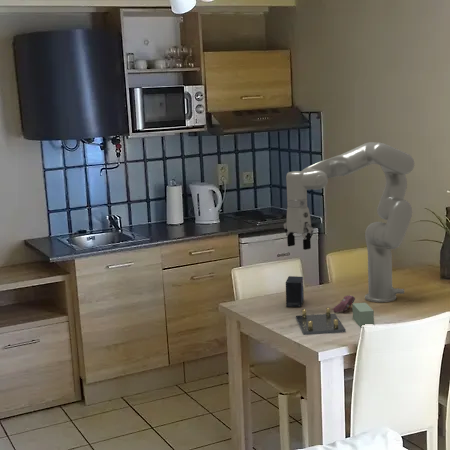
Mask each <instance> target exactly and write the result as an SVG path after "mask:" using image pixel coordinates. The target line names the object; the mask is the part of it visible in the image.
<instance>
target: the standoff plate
mask: <svg viewBox="0 0 450 450" xmlns="http://www.w3.org/2000/svg"><path fill="white" fill-rule="evenodd" d="M295 320H296V322H297V325H298V326H299V328H300V330H301V333H302V335H303V336H304V335H305V336H306V335H321V334H336V333H337V334H339V333H346V327H345V326H344V325H343V324H342V322H341V320H340V319H339V318H338V316H337V314H336V312H334V313H331V307H327V306H326V307H325V313H322V314H319V313H318V314H307V308H302V309H301V315H295Z"/></svg>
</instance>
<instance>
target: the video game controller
mask: <svg viewBox="0 0 450 450" xmlns="http://www.w3.org/2000/svg"><path fill="white" fill-rule="evenodd" d="M355 300H356V297H355V296H353V295H350V294H349V295H345V296H344V297H343V299H342V300H341V301H340V302H339V303H338V304H337V305H335V306H334V307H333V312H334V313H340V312H342V311H343V312H346V311H347V310H349V309H350V308H351V306H353V305H352V304H353V303H355V302H354V301H355Z"/></svg>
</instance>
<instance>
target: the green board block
mask: <svg viewBox="0 0 450 450" xmlns="http://www.w3.org/2000/svg"><path fill="white" fill-rule="evenodd" d="M351 306H352V320H353V321H354V322H355V323H356V324H357V325H358V327H359V328H362V327H361V326H362V325H365V324H374V325H375V321H374V320H375V317H374V313H375V312H374V310H373V308H372V307H371V306H369V305H368V303H367V302H357V303H355V302H353V303H352V305H351Z"/></svg>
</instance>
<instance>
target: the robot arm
mask: <svg viewBox="0 0 450 450" xmlns="http://www.w3.org/2000/svg"><path fill="white" fill-rule="evenodd" d="M370 165H379V166H380V168H381V170H382V171H383V174H384V177H385V185H384V189H383V191H382V194H381V197H380V199H379V202H378V205H377V210H376V213H377V215H378V217H379V218H380V219H383V220H385V221H386V222H382V221H374V222H371V223H369V224H368V225H367V227H366V229H365V233H364V234H365V235H364V237H365V238H364V239H365V243H366V250H367V277H368V280H367V283H368V287H367V288H368V289H367V291H368V292H367V294H365V295H364V299H365V301H369V302H373V303H389V302H390V303H391V302H393V301H395V300H397V295H398V294H400V295H402V294H405V288H400V287H399V288H394V286H393V256H392V255H393V254H392V250H395V249H398V248H399V247H400V246H401V244H402V243H403V241H404V238H405V236H406V233H407V230H408V229H409V226H410V222H411V219H412V217H413V207H412V205H411V203H410V202H409V201H408V200H406V199H404V198H405V196H406V193H407V192H406V191H407V188H408V180H407V176H406V175H408V174H409V173H411V172H412V171H413V170H414V168H415V160H414V158H413V156H412V155H411V154H410V153H407V152H405V151H403V150H401V149H398V148H396V147H393V146H392V145H389V144H387V143H383V142H379V141H378V142H375V141H374V142H373V141H368V142H365V143H363V144H361V145H358V146H357V147H354V148H352V149H350V150H348V151H346V152H343V153H342V154H338V155H335V156H332V157H330V158H326V159H324V160H323V159H322V160H320V161H318V162H316V163H313V164H311V165H309V166H306V167H305V168H304V169H302V170H301V171H300V170H299V171H298V170H297V171H296V170H295V171H288V172H287V173H286V178H285V179H286V198H287V199H286V201H287V203H286V204H287V205H286V206H287V207H286V221H285V222H284V223H283V228H284V232H285V234H286V235H285V236H286V240H287V246H288V247H294V246H296V237H295V234H299V235H302V237H303V239H302V250H310V249H311V248H312V246H311V245H312V244H311V239H312V236H313V235H314V234H313V233H314V230H315V229H314V227H312V220H311V213H310V209H309V207H308V192H307V191H308V190H316V191H317V190H322V189H324V188H325V187H326V186H327V185H328V182H329V178H330V179H331V178H336V177H344V176H349V175H352V174H354V173H356V172H358V171H360V170H362V169H364V168H366V167H368V166H370Z"/></svg>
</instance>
